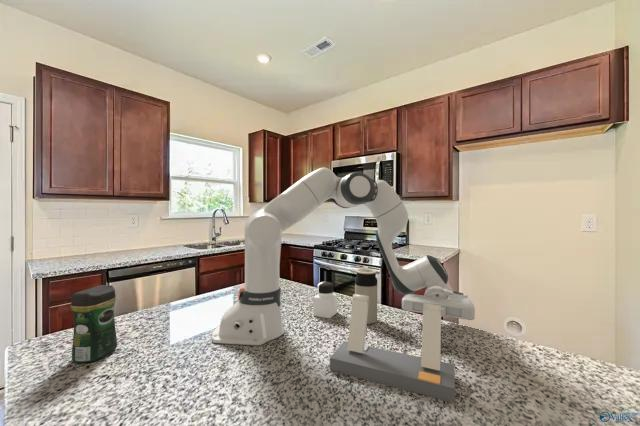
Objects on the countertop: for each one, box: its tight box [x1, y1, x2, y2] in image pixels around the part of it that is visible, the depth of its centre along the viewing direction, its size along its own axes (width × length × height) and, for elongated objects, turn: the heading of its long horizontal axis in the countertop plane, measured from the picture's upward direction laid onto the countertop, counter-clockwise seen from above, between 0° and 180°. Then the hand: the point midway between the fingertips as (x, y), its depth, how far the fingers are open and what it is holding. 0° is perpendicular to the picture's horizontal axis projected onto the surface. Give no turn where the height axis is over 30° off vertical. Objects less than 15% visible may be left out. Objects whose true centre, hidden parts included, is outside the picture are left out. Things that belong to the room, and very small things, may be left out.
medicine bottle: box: [312, 281, 338, 319], centre depth 108 cm, size 7×7×12 cm
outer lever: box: [420, 304, 442, 370], centre depth 67 cm, size 4×2×14 cm, turn 65°
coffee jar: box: [70, 284, 118, 364], centre depth 77 cm, size 10×8×19 cm
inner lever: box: [347, 293, 369, 353], centre depth 75 cm, size 4×2×14 cm, turn 65°
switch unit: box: [329, 340, 456, 404], centre depth 69 cm, size 28×10×3 cm, turn 65°
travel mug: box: [354, 267, 378, 325], centre depth 102 cm, size 8×8×18 cm
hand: (435, 314), depth 79 cm, fingers closed
